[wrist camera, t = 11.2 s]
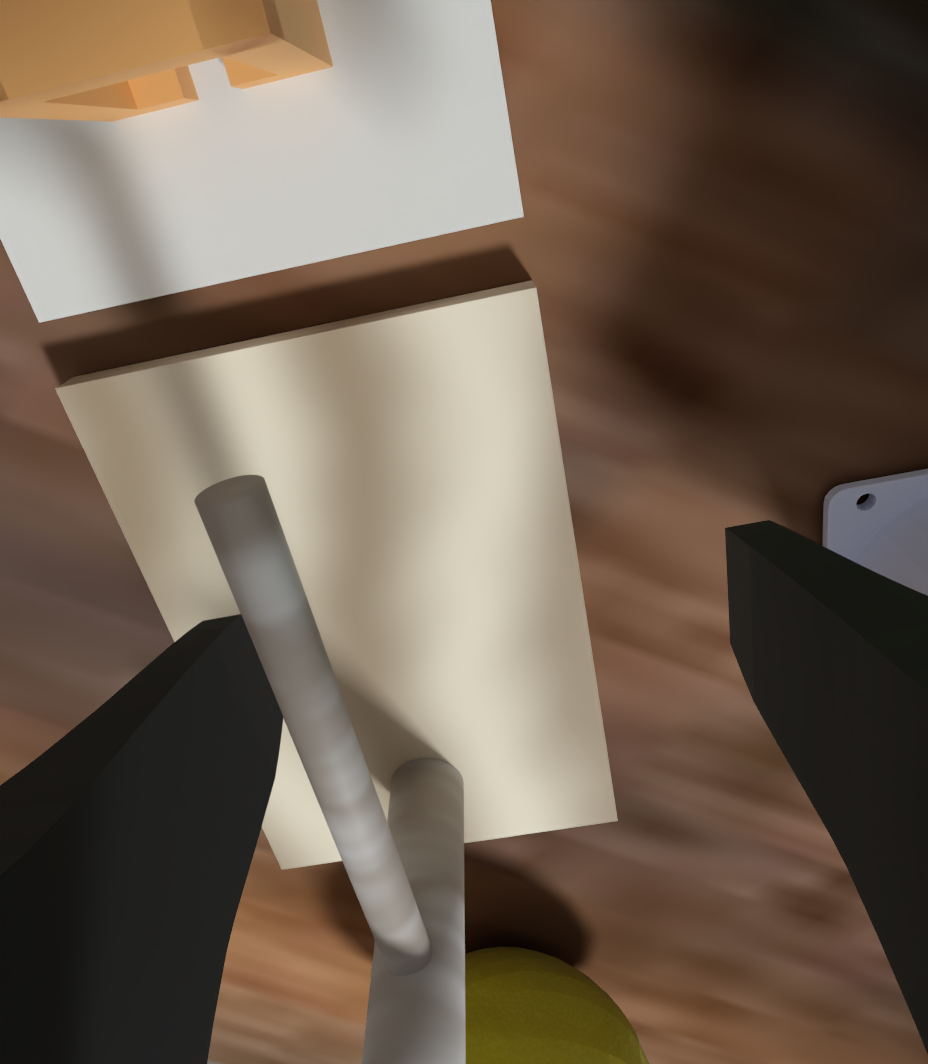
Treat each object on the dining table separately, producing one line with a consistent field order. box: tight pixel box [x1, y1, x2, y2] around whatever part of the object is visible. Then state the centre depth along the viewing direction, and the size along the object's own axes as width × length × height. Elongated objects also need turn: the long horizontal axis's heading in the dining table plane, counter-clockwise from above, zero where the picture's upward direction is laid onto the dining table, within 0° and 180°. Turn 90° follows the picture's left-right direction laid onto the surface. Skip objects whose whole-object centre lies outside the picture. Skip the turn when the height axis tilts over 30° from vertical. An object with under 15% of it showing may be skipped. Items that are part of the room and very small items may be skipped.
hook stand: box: [55, 280, 618, 1064], centre depth 19 cm, size 12×18×10 cm, turn 11°
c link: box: [0, 0, 333, 122], centre depth 13 cm, size 5×2×6 cm, turn 102°
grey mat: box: [0, 0, 524, 323], centre depth 16 cm, size 12×9×1 cm
